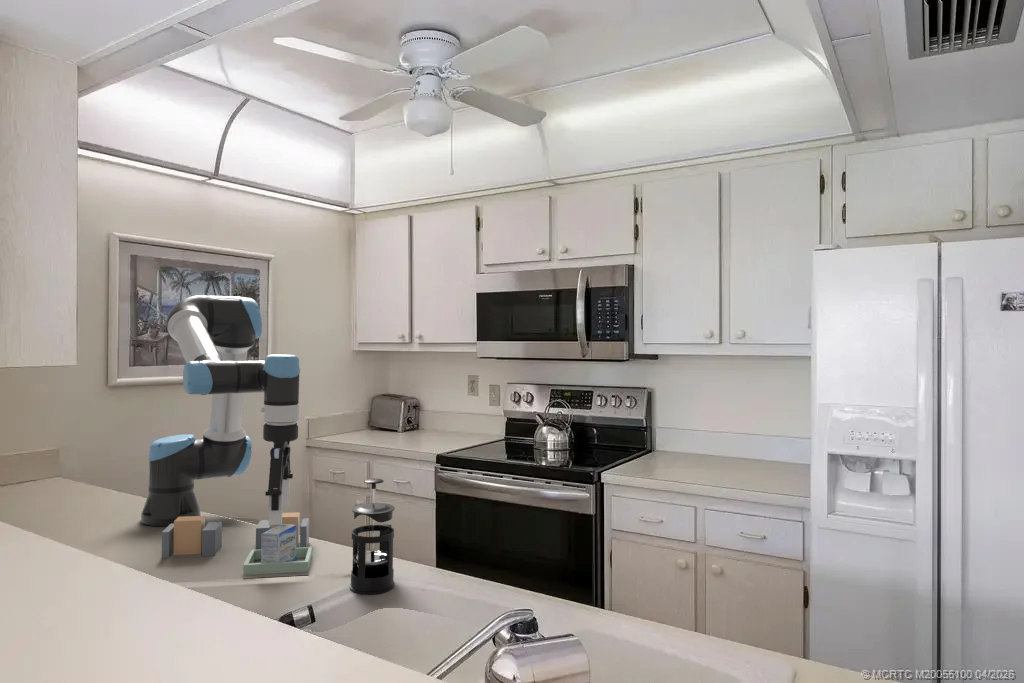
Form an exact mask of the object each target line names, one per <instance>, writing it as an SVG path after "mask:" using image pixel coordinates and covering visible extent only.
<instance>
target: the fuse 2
mask: <svg viewBox="0 0 1024 683" xmlns="http://www.w3.org/2000/svg"><path fill="white" fill-rule="evenodd" d="M300 515H301V512H300V511H299V512H282V524H291V525H296V547H299V542H300V526H301V523H300V522H301V521H300V519H301V517H300ZM276 526H278V525H272V528H274V527H276Z"/></svg>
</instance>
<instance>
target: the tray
mask: <svg viewBox="0 0 1024 683" xmlns="http://www.w3.org/2000/svg"><path fill="white" fill-rule="evenodd" d="M298 558H305V559H304V560H296V561H290V562H270V563H261V562H255V560H256V561H257V560H261V549H256V548H255V549H254V548H253V549H251V550H250V553H249V554H248V556H247V557H246V560H245V561H244V563H243V568H242V569H243V573H242V574H243V575H244V576H248V575H264V574H268V575H269V574H282V573H283V574H284V573H303V572H309V570H310V566H311V562H312V558H313V546H308V547H296V559H298ZM306 576H307V577H308V576H309V574H306V575H305V574H303V575H302V574H301V575H296V577H306ZM289 577H290V578H291V577H293V575H283V576H277V578H289ZM270 578H272V579H273V578H275V576H264V577H263V576H262V577H259V579H270ZM251 579H257V577H245V578H243V579H242V580H251Z"/></svg>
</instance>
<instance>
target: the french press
mask: <svg viewBox="0 0 1024 683" xmlns="http://www.w3.org/2000/svg"><path fill="white" fill-rule="evenodd" d="M363 482H364V484H369V485H371V490H372V502H368V503H361V504H357V505H355V506H353V507H352V508H351V512H352V513H353V520H356V518H358V517H359V516H362V515H363V516H367V517H369V518H371V519H372V524H368V525H367V524H366V525H361V526H358V527H355V528H353V529H352V530H351V540H352V570H351V571H350V583H349V589H350V592H351V591H352V592H353V593H354V594H359V595H365V596H370V595H380V594H383V593H387V592H389V591H391V590H393V589H394V587H395V581H394V576H395V575H394V572H395V570H394V564H393V563H394V538H395V529H394V528H393V527H392V525H391V524H387V523H385V522H388V521H391V520H392V519H393V512H394V511H395V509H396V508H395V506H394V505H392V504H389V503H383V502H375V490H376V489H377V484H382V483H384V482H385V480H383V479H382V478H368V479H367V478H366V479H364V481H363ZM375 522H377V523H383V524H375ZM365 532H372V534H371V536H364V535H363V536H362V535H359V534H361V533H365ZM375 532H379V535H378V536H375ZM367 544H371V550H366V547H367V546H366V545H367ZM375 544H379V550H378V549H376V550H375V549H374V546H375Z"/></svg>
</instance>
